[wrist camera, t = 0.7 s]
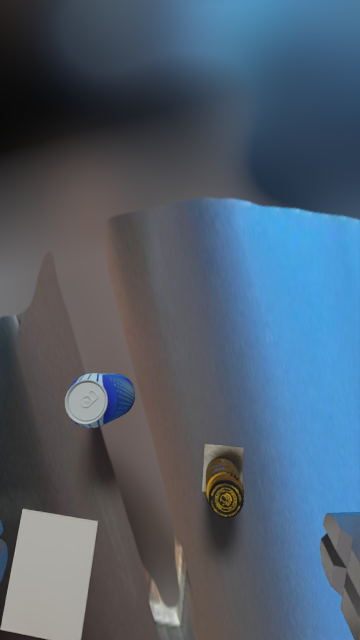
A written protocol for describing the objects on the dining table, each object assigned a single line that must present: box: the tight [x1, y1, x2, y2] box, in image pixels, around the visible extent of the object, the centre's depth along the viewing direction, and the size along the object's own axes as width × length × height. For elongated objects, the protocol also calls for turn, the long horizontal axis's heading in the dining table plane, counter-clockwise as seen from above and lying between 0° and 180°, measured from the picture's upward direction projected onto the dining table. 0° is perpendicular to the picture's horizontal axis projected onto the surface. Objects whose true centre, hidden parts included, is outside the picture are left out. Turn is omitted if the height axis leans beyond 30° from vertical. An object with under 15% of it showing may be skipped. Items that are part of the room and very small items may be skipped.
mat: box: [0, 509, 98, 640], centre depth 56 cm, size 20×15×1 cm
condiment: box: [202, 444, 244, 518], centre depth 51 cm, size 7×8×12 cm
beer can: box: [65, 373, 135, 428], centre depth 53 cm, size 8×8×16 cm
